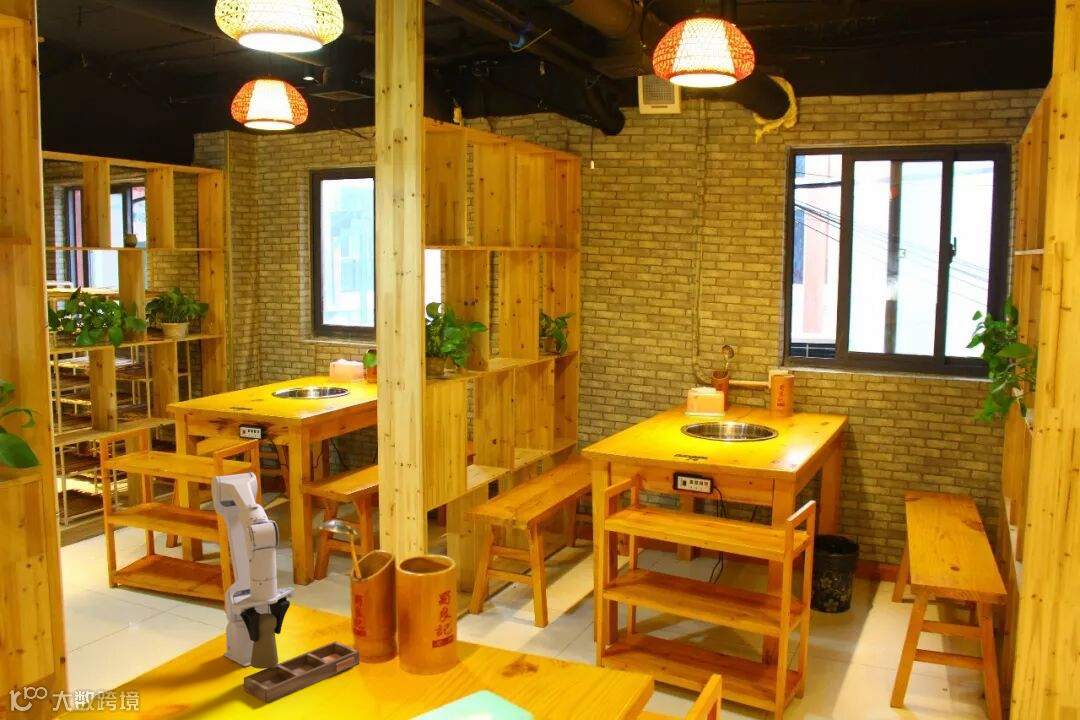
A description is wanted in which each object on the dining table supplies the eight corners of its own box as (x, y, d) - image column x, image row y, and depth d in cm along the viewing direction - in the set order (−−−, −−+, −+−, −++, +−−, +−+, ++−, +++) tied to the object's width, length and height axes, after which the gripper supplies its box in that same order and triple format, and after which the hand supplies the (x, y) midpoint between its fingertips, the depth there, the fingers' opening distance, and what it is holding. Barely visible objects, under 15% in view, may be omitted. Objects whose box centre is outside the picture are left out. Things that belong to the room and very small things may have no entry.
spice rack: (244, 690, 198) (243, 677, 198) (335, 653, 217) (335, 641, 217) (269, 704, 192) (268, 691, 192) (361, 664, 211) (360, 652, 211)
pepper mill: (270, 670, 198) (270, 621, 197) (245, 666, 200) (245, 618, 199) (283, 659, 204) (283, 611, 203) (258, 655, 205) (259, 608, 204)
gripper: (243, 589, 192) (246, 651, 193) (301, 572, 203) (303, 631, 204) (225, 582, 197) (228, 643, 198) (283, 566, 208) (285, 623, 209)
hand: (265, 636), depth 201 cm, fingers closed on pepper mill, 5 cm apart
